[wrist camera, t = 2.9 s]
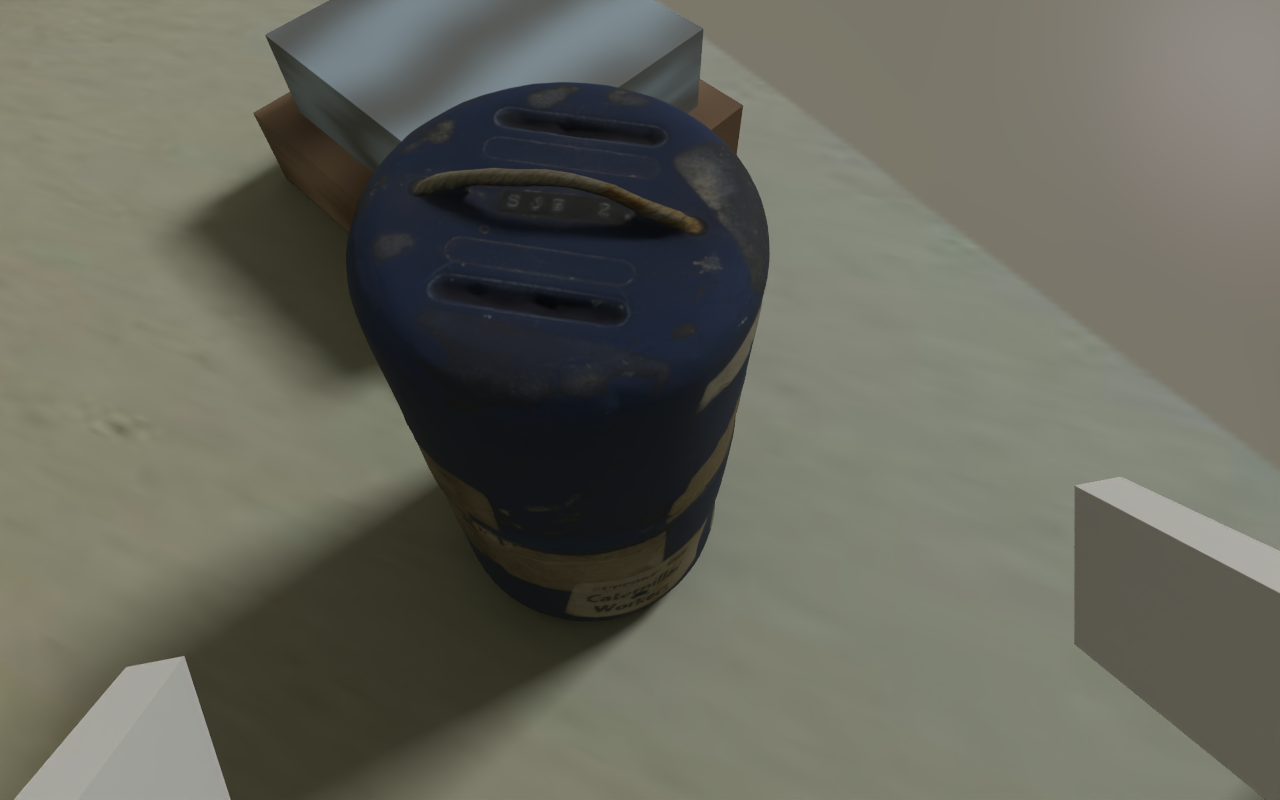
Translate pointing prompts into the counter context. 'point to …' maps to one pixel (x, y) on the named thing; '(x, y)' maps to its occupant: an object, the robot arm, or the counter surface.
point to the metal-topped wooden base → (459, 74)
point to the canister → (566, 330)
